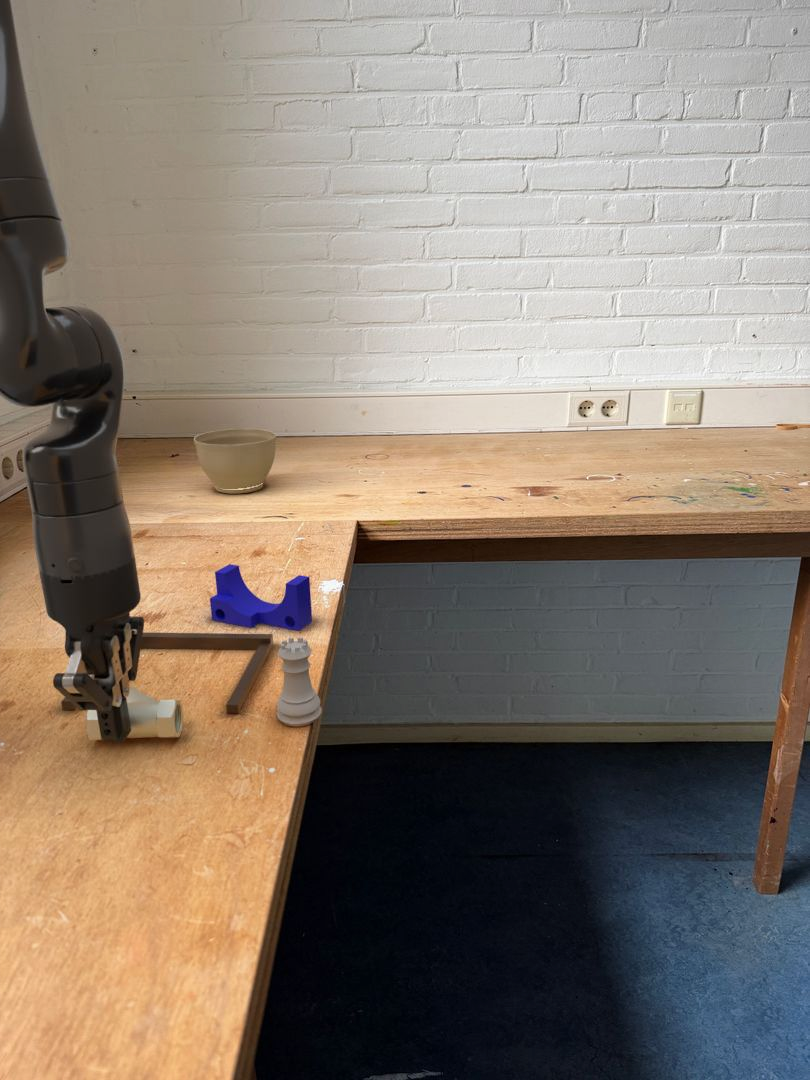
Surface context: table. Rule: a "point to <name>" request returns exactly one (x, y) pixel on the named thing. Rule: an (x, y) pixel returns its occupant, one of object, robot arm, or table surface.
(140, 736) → the pipe fitting
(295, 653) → the rook chess piece
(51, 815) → the table surface
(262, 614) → the blue saddle bracket
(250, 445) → the planter bowl
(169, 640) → the frame
